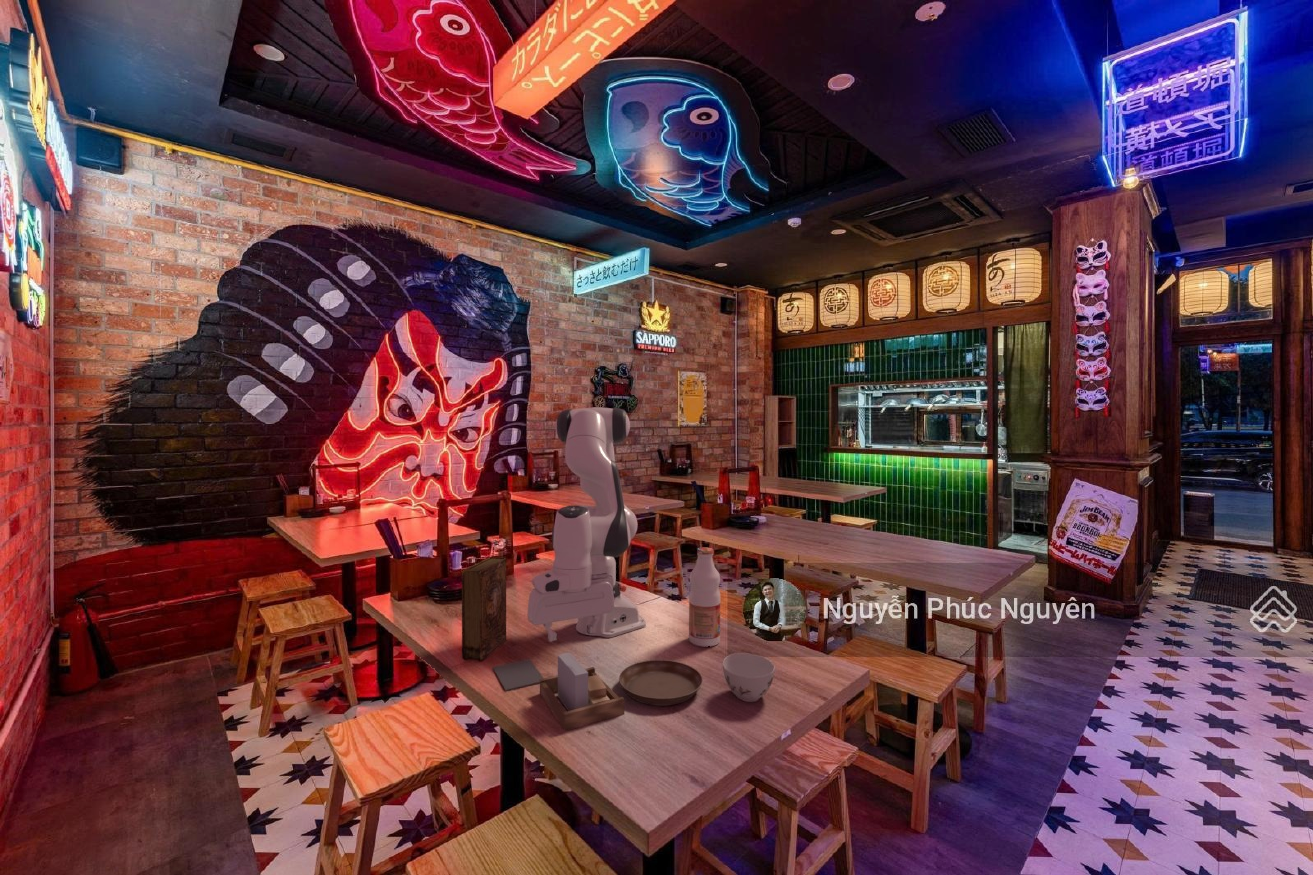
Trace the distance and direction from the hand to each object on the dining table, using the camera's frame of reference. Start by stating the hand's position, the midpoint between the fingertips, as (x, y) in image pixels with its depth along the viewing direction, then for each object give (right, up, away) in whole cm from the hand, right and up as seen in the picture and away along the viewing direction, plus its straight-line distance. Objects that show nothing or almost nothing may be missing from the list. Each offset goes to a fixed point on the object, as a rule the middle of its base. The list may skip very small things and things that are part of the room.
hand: (572, 636), depth 125 cm
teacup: (+43, -17, +6) cm, 46 cm away
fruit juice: (+34, -16, +38) cm, 53 cm away
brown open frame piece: (+2, -16, +2) cm, 16 cm away
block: (0, -16, +1) cm, 16 cm away
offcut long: (+5, -17, +3) cm, 18 cm away
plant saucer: (+21, -17, +9) cm, 28 cm away
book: (-30, -15, +31) cm, 46 cm away
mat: (-16, -16, +16) cm, 28 cm away
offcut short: (+5, -14, +3) cm, 15 cm away
